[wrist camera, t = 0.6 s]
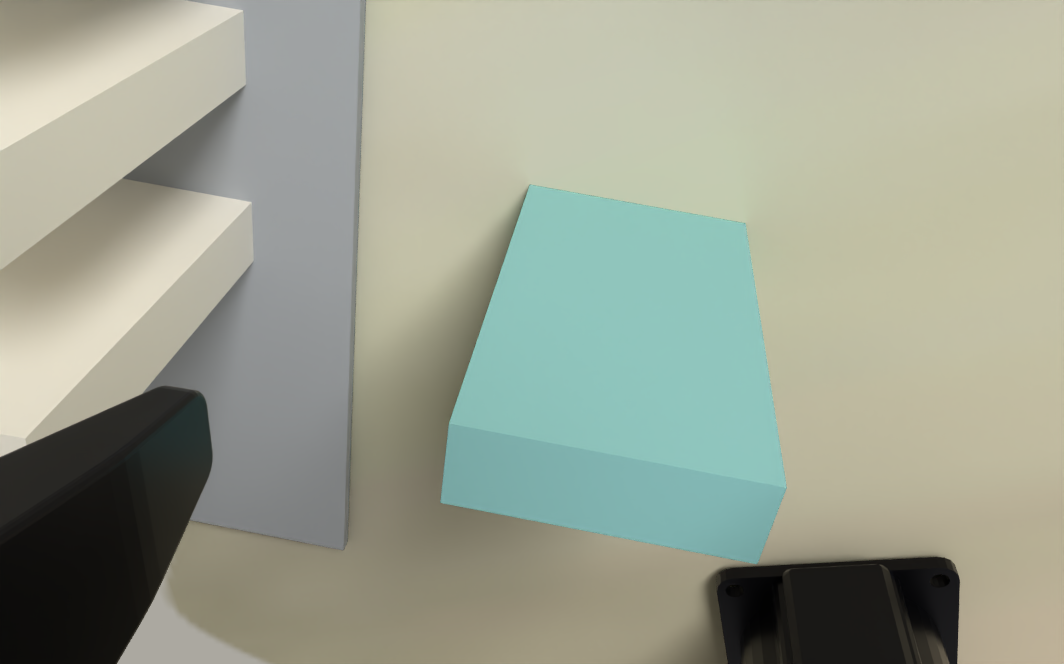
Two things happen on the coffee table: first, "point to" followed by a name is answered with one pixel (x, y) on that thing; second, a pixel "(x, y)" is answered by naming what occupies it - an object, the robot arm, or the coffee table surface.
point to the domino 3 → (622, 381)
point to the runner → (280, 272)
